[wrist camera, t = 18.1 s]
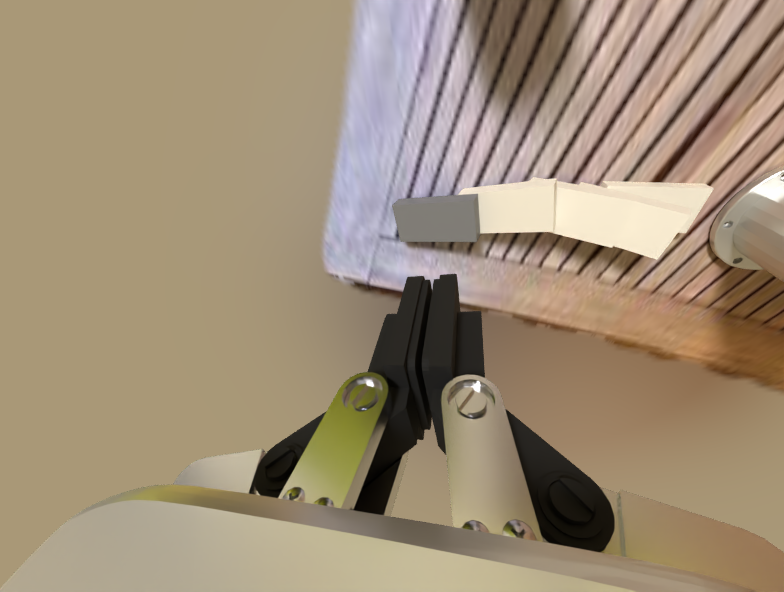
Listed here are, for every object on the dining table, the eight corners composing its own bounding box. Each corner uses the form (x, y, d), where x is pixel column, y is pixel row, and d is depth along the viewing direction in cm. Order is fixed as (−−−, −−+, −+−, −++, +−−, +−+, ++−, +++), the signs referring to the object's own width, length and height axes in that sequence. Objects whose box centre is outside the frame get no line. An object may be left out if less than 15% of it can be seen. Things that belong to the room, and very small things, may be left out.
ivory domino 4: (601, 179, 34) (701, 182, 32) (584, 221, 37) (675, 225, 36) (608, 185, 32) (713, 188, 31) (590, 228, 35) (685, 233, 34)
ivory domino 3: (580, 181, 34) (690, 208, 29) (561, 222, 37) (657, 251, 33) (577, 186, 32) (691, 215, 28) (557, 228, 36) (657, 259, 31)
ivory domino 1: (463, 188, 36) (556, 178, 31) (468, 226, 39) (555, 223, 34) (457, 194, 35) (554, 185, 30) (463, 233, 38) (553, 231, 32)
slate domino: (400, 241, 40) (476, 242, 35) (392, 205, 37) (473, 200, 32) (406, 234, 41) (480, 233, 37) (398, 199, 38) (477, 193, 34)
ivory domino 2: (533, 177, 34) (637, 194, 30) (521, 218, 37) (614, 240, 33) (528, 181, 33) (635, 201, 28) (516, 224, 36) (612, 247, 32)
